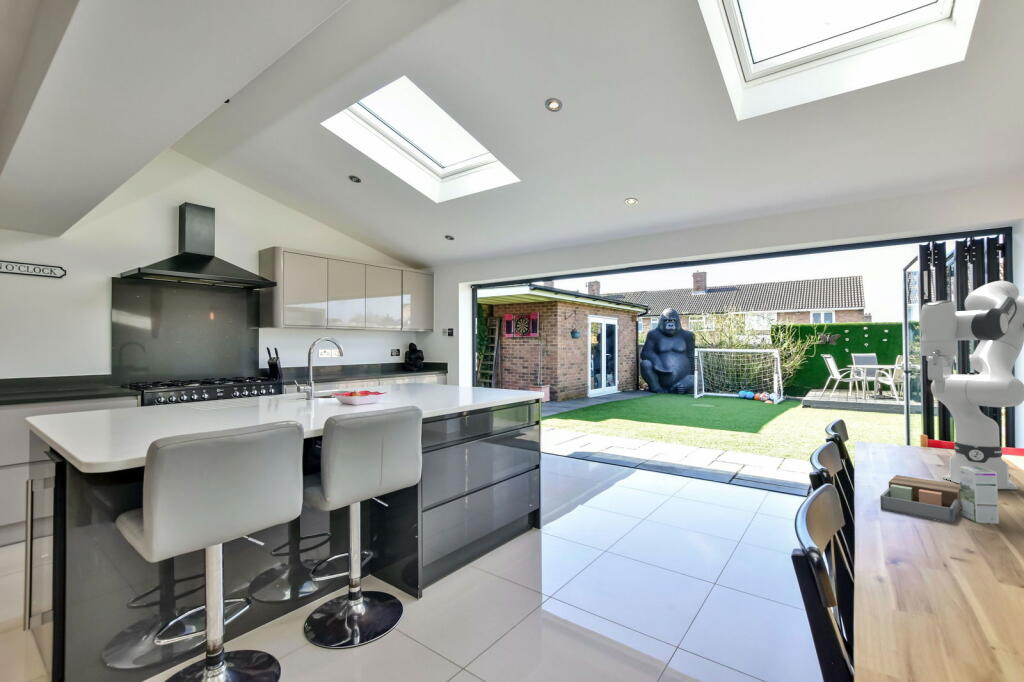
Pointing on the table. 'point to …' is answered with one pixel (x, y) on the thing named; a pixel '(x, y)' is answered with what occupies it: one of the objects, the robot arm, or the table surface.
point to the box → (919, 508)
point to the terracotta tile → (930, 497)
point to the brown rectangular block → (930, 488)
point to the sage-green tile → (901, 492)
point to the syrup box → (979, 494)
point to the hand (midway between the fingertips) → (940, 393)
